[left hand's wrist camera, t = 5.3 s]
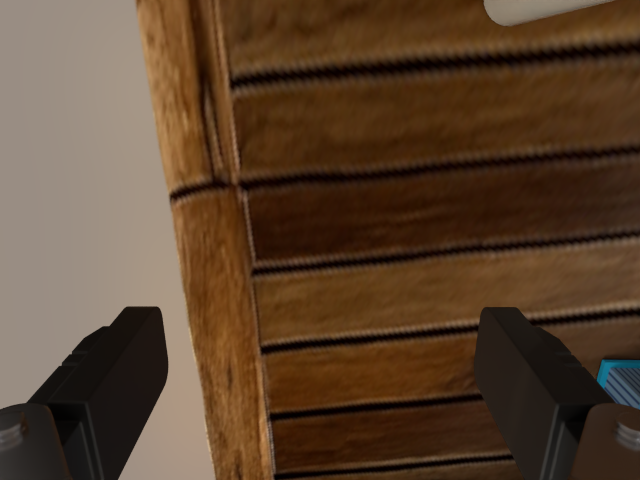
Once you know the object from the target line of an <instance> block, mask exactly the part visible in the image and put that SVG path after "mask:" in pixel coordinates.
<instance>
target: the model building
mask: <svg viewBox="0 0 640 480" xmlns="http://www.w3.org/2000/svg"><path fill="white" fill-rule="evenodd" d="M597 382H598V383H599V384H600V385H601V386H602V387H603V389H604V390H605V391H606V392H607V393H608V394H609V395H610V396H611V397H612V398H613V400H614V401H615V402H616V403H617V404H623V405H628V406H631V407H634V408H637V409H640V360H602V363H601V366H600V370H599V373H598V377H597Z"/></svg>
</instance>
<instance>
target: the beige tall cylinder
mask: <svg viewBox="0 0 640 480" xmlns="http://www.w3.org/2000/svg"><path fill="white" fill-rule="evenodd" d="M610 1H614V0H484V6H485V9H486V12H487V14H488V15H489V17H490V18H491V19H492V20H493V21H494V22H496V23H498V24H500V25H503V26H515V25H519V24H523V23H527V22H531V21H535V20H539V19H543V18H547V17H551V16H554V15H558V14H562V13H566V12H570V11H574V10H578V9H582V8H586V7H590V6H594V5H598V4H602V3H606V2H610Z"/></svg>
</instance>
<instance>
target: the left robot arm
mask: <svg viewBox="0 0 640 480" xmlns="http://www.w3.org/2000/svg"><path fill="white" fill-rule="evenodd" d="M474 374H475V379H476V383H477V386H478V388H479V390H480V392H481V394H482V396H483V398H484V400H485V402H486V404H487V406H488V408H489V410H490V412H491V414H492V416H493V418H494V420H495V422H496V424H497V426H498V428H499V430H500V432H501V434H502V436H503V438H504V440H505V442H506V444H507V446H508V448H509V450H510V452H511V454H512V456H513V458H514V460H515V462H516V464H517V466H518V468H519V470H520V471H521V473H522V475H523V477H524V479H525V480H640V409H637V408H634V407H631V406H628V405H623V404H617V403H616V402H615V401H614V400H613V398H612V397H611V396H610V395H609V394H608V393H607V392H606V391H605V390H604V389H603V387H602V386H601V385H600V384H599V383H598V382H597V381H596V380H595V379H594V377H593V376H592V375H591V374H590V373H589V372H588V371H587V370H586V369H585V367H582V366H581V363H580V362H579V361H578V360H577V359H576V357H575V356H574V355H571V352H570V351H569V350H568V349H567V347H566V346H565V345H564V344H563V343H562V342H561V341H560V340H559V339H558V338H556V337H555V336H553V335H552V334H550V333H548V332H547V331H545V330H543V329H542V328H540V327H533V326H532V325H531V324H530V322H529V321H528V320H527V319H526V318H525V316H524V315H523V314H522V313H521V312H520V310H519V309H518V308H516V307H485V308H484V309H483V310H482V312H481V316H480V322H479V329H478V337H477V344H476V351H475V358H474ZM167 375H168V355H167V348H166V340H165V333H164V326H163V318H162V313H161V310H160V308H159V307H126V308H124V309H123V311H122V312H121V313H120V314H119V315H118V317H117V318H116V319H115V320H114V321H113V323H112V324H111V325H110V326H103V327H101V328H100V329H98V330H96V331H95V332H93V333H92V334H90V335H88V336H87V337H85V338H84V339H83V340H82V341H81V342H80V343H79V344H78V345H77V347H76V348H75V349H74V350H73V351H72V354H70V355H69V356H68V357H67V358H66V359H65V360H64V361H63V362H62V366H59V367H58V368H57V369H56V370H55V371H54V372H53V373H52V375H51V376H50V377H49V378H48V379H47V380H46V381H45V382H44V384H43V385H42V386H41V387H40V388H39V389H38V390H37V391H36V392H35V394H34V395H33V396H32V397H31V398H30V399H29V400H28V402H27V403H23V404H17V405H12V406H9V407H6V408H3V409H0V480H118V478H119V476H120V474H121V472H122V470H123V468H124V466H125V464H126V462H127V460H128V458H129V456H130V454H131V452H132V450H133V448H134V446H135V444H136V442H137V440H138V438H139V436H140V434H141V432H142V430H143V428H144V426H145V424H146V422H147V420H148V418H149V416H150V414H151V412H152V410H153V408H154V406H155V404H156V402H157V400H158V398H159V396H160V394H161V392H162V390H163V388H164V386H165V383H166V380H167Z"/></svg>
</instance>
